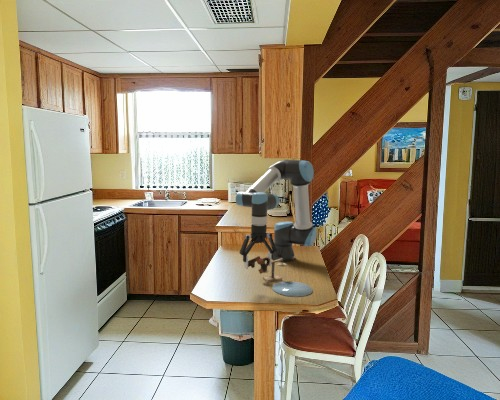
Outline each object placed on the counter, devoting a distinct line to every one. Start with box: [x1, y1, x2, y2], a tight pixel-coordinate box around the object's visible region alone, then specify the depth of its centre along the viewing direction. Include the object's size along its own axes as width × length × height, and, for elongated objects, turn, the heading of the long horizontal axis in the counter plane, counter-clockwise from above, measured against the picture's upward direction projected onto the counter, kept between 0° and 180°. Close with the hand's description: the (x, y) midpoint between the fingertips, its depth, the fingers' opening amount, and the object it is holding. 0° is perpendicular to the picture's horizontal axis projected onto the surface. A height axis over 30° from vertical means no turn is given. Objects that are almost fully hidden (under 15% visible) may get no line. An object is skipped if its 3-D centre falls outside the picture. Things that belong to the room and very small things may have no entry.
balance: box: [262, 258, 288, 283], centre depth 218 cm, size 16×5×11 cm, turn 114°
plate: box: [272, 281, 313, 298], centre depth 206 cm, size 20×20×1 cm
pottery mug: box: [248, 256, 270, 275], centre depth 202 cm, size 12×10×8 cm
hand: (257, 266), depth 203 cm, fingers closed on pottery mug, 12 cm apart
